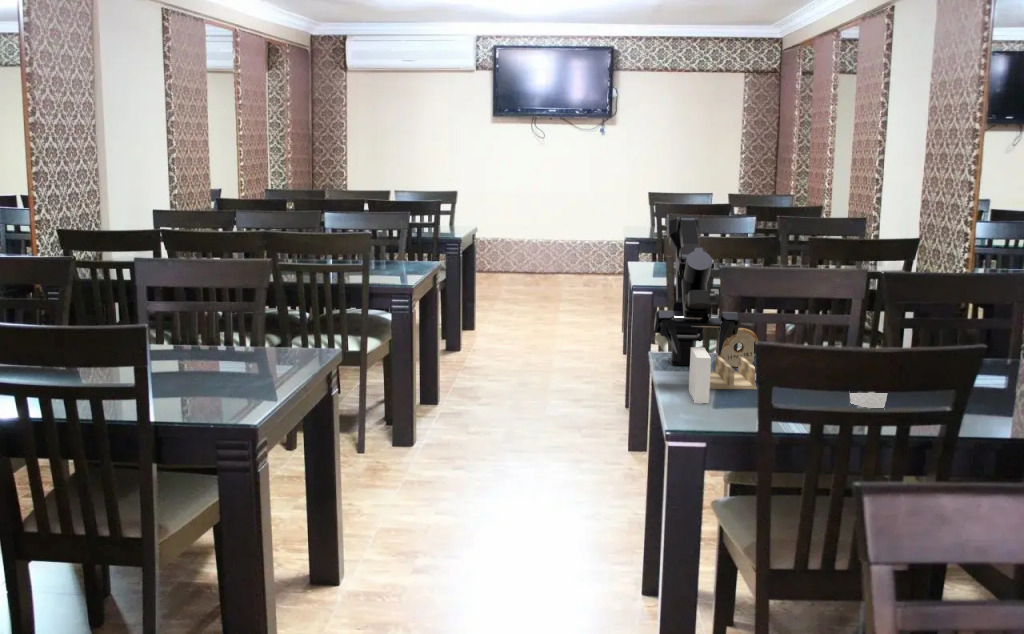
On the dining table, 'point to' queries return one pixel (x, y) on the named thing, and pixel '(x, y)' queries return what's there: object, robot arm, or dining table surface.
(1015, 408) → the dining table surface
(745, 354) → the stone disc
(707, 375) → the white block
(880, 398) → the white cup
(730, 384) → the plate rack
